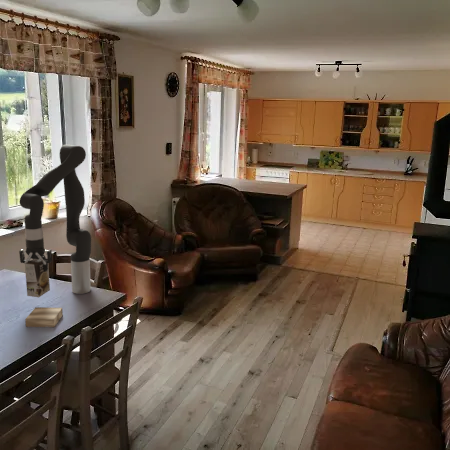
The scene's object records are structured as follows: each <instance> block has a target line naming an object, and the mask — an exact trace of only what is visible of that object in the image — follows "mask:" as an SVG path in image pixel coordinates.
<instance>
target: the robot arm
mask: <svg viewBox="0 0 450 450" xmlns="http://www.w3.org/2000/svg"><path fill="white" fill-rule="evenodd" d="M86 153H87V152H86V149H85V148H84V147H83V146H80V145H76V144H63V145H62V146H61V147H60V149H59V161H60V164H59V165H58V166H56V167H54V168H53V169H51V170H50V171H48V172H47V173H45V174H44V175H42V177H41V178H40V179H39V180H38V181H37V183H35V185H33V186H31V187H30V188H28V189H26V190H25V192H23V194H22V195H20V198H19V206H20V207H21V208H23V209H25V210H29V213H28V214H26V215H25V216H24V230H25V231H24V237H25V247H26V248H25V249H23V248H21V249H20V250H19V251H18V253H19V262H20V263H21V264H24V265H25V263H27V262H29V261H31V260H33V259H40V260H41V261H42V262H43V263H44V272H46V271H47V270H49V264H50V263H52V261H53V255H52V254H53V251H52V249H51V248H50V249H45V242H44V230H43V224H42V218H43V212H44V206H45V203H44V199H43V197H48V195H50V194H51V193H52V191H54V190H55V188H56V187H57V186H58V185H59V184H60V183H61V181H62V180H63V189H64V190H63V191H64V200H65V201H64V204H65V213H66V215H65V216H66V229H65V230H66V231H65V232H66V234H65V235H66V236H65V237H66V242H67V244H69V245H70V246H74V247H75V252H72V253H71V255H70V266H71V267H70V272H71V273H70V274H71V292H72V293H74V294H78V295H82V294H87V293H89V292H90V291H91V290H92V289H91V286H92V285H91V264H90V263H91V262H90V261H91V259H90V256H91V253H92V235H91V233H90V231H88V230H86V229H84V228H81V225H80V217H81V214H82V211H83V209H84V208H85V202H86V201H85V191H84V187H83V184H82V183H81V181H80V179H79V178H78V176H77V175H78V174H77V173H76V168H78V167H79V166H80V165H81V164H82V163H84V161H85V160H86V157H87V154H86ZM25 254H27V257H26V256H25ZM45 254H46V256H47V257H46V256H45Z"/></svg>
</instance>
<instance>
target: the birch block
mask: <svg viewBox="0 0 450 450" xmlns="http://www.w3.org/2000/svg"><path fill="white" fill-rule="evenodd" d="M63 313H64V312H63V307H39V306H38V307H37V306H36V307H34V308H33V310H32V311H31V312H30V313H29V314H28V315H27V317H25V327H27V328H28V327H29V328H32V327H33V328H55V327H56V325H57V324H58V322H59V321H60V319H62V317H63V315H64V314H63Z"/></svg>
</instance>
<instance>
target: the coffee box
mask: <svg viewBox="0 0 450 450" xmlns="http://www.w3.org/2000/svg"><path fill="white" fill-rule="evenodd" d="M24 270H25V282H26V296H27V297H33V298H40V297H42V296H43V295H46V294H47V293H48V292H50V291H51V286H50V285H51V284H50V272H49V271H50V270H49V269H48V270H47V271H46V272H44V263H43V262H42V261H41V260H40V259H30V261H29V262H27V263H25V264H24Z"/></svg>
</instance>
